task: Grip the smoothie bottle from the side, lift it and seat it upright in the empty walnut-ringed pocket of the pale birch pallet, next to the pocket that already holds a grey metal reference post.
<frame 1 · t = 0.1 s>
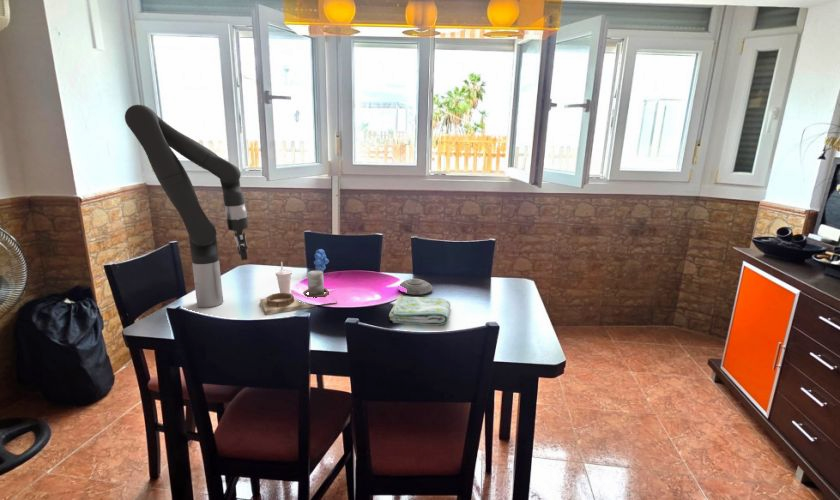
hand: (243, 256, 172), 17 cm above the table, tool pointing down, fingers open, 8 cm apart
flying saucer: (415, 291, 188), on the table
smoothie: (285, 294, 181), on the table
grapes: (322, 273, 210), on the table
towel: (420, 316, 163), on the table
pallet: (299, 302, 172), on the table
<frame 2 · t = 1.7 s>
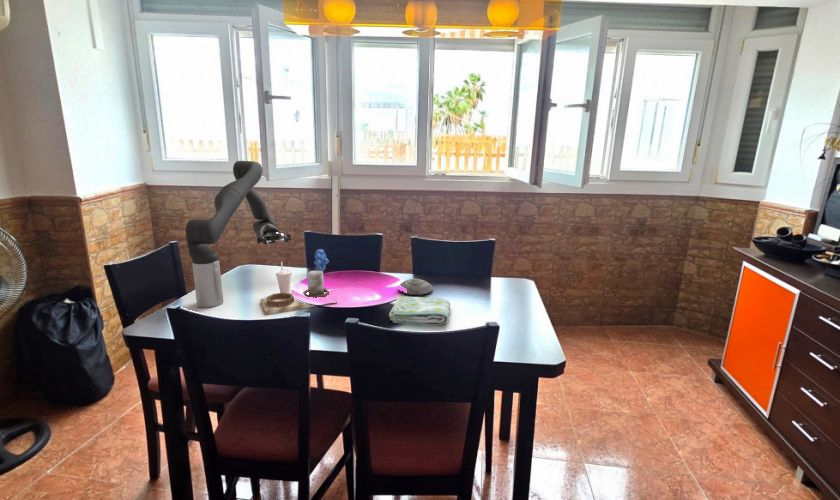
hand: (276, 241, 187), 20 cm above the table, tool horizontal, fingers open, 8 cm apart
nothing on the table moved.
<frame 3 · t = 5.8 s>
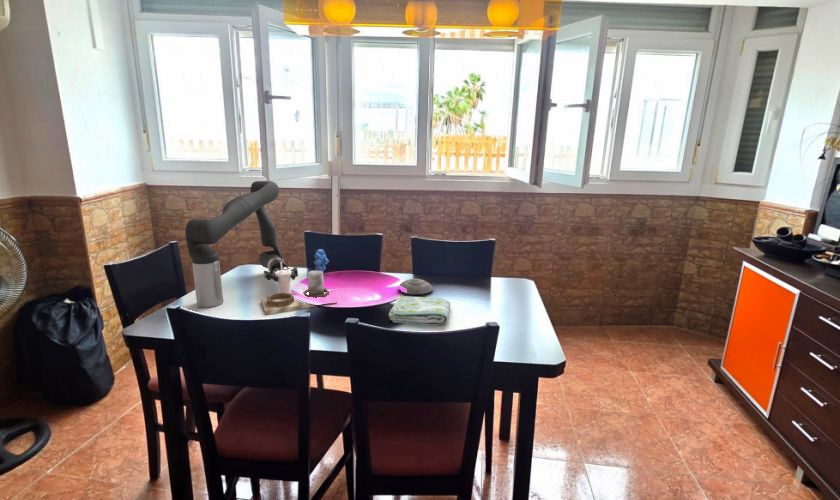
hand: (285, 278, 177), 8 cm above the table, tool horizontal, fingers closed on smoothie, 6 cm apart
smoothie: (285, 294, 181), on the table, touching gripper
everything else where it was.
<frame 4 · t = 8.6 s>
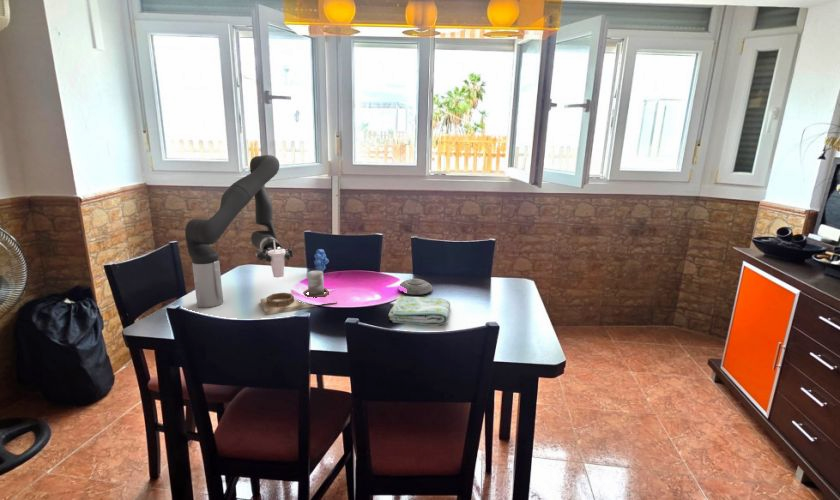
hand: (278, 258, 162), 20 cm above the table, tool horizontal, fingers closed on smoothie, 6 cm apart
smoothie: (278, 276, 166), point 12 cm above the table, touching gripper
everything else where it was.
when the fingers open (10 cm above the table, at t = 11.5 s): smoothie stays where it is, resting on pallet.
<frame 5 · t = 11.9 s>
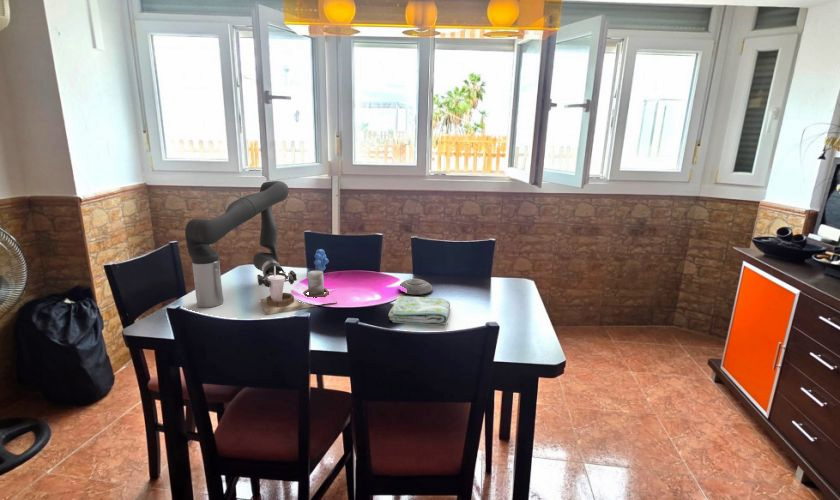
hand: (280, 283, 165), 10 cm above the table, tool horizontal, fingers open, 8 cm apart
smoothie: (276, 301, 168), point 2 cm above the table, touching gripper, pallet
everything else where it was.
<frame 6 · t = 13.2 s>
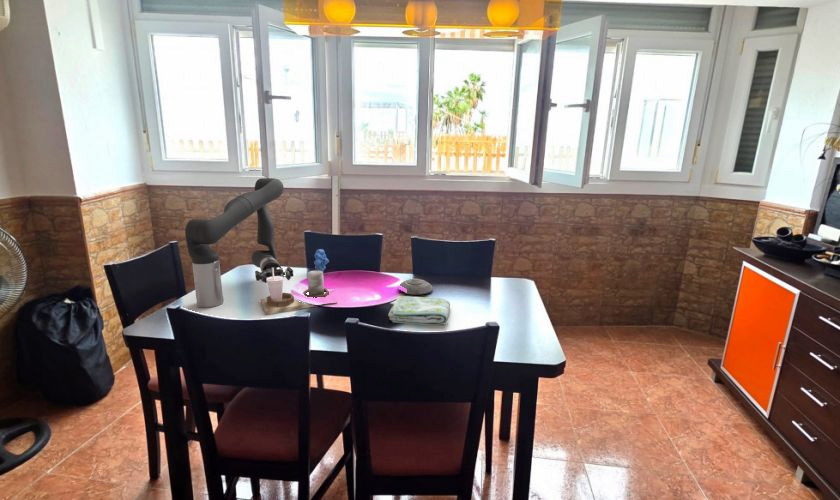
hand: (277, 279, 169), 10 cm above the table, tool horizontal, fingers open, 8 cm apart
smoothie: (276, 302, 168), point 1 cm above the table, touching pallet
everything else where it was.
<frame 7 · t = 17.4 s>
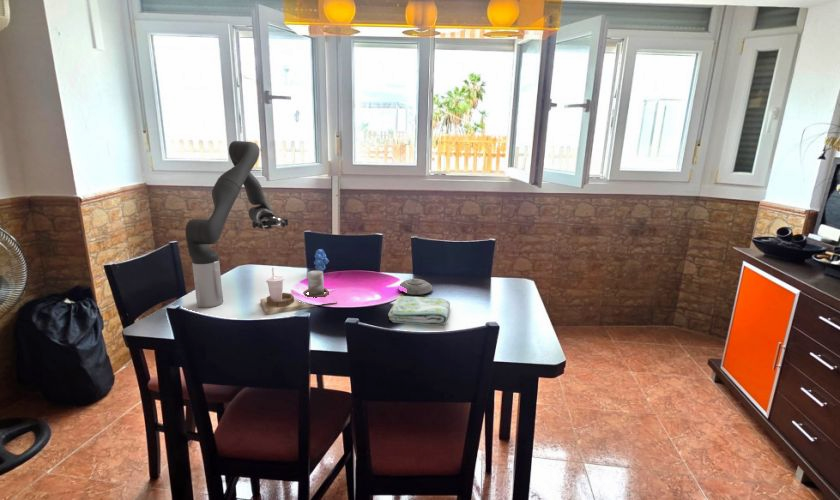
hand: (272, 225, 178), 28 cm above the table, tool horizontal, fingers open, 8 cm apart
nothing on the table moved.
at the end: smoothie 1.4 cm from the target spot on the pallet, point 1.3 cm above the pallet's base; smoothie tilted 0°; the gripper is holding nothing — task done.
